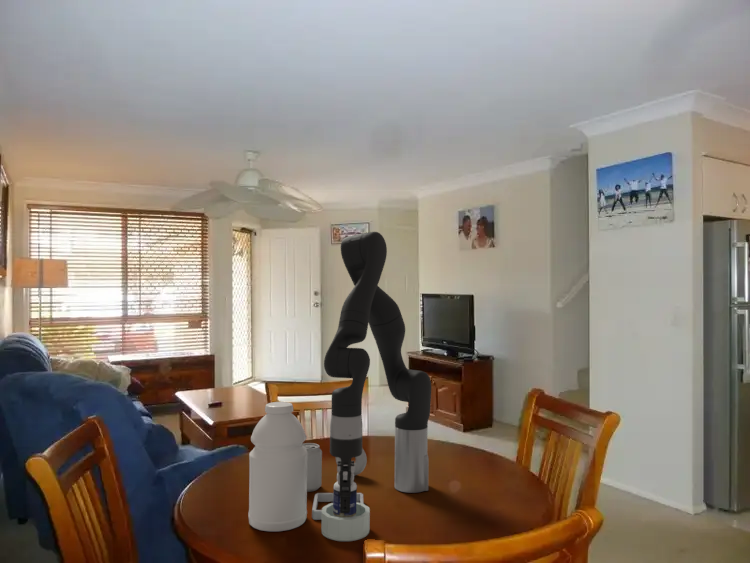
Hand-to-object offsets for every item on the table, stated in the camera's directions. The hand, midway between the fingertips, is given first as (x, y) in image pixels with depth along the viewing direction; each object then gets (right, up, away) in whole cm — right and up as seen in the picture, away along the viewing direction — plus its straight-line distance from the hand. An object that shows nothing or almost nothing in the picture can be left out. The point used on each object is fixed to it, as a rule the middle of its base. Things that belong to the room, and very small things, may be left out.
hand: (345, 507), depth 132 cm
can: (-12, -6, +28) cm, 31 cm away
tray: (-2, -6, +13) cm, 14 cm away
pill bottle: (0, -2, 0) cm, 2 cm away
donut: (0, -6, +40) cm, 40 cm away
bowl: (0, -5, 0) cm, 5 cm away
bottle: (-17, -6, +5) cm, 18 cm away
